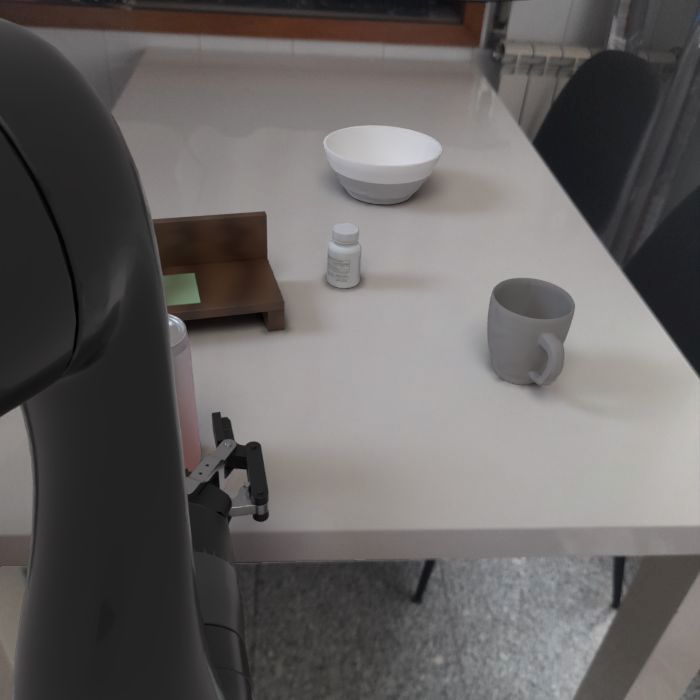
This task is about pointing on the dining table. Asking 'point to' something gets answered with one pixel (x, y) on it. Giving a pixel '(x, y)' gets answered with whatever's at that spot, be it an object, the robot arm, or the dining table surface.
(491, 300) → the mug
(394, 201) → the bowl
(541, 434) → the dining table surface
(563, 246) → the dining table surface
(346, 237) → the pill bottle
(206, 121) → the dining table surface
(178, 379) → the beverage can
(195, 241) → the wooden stand
